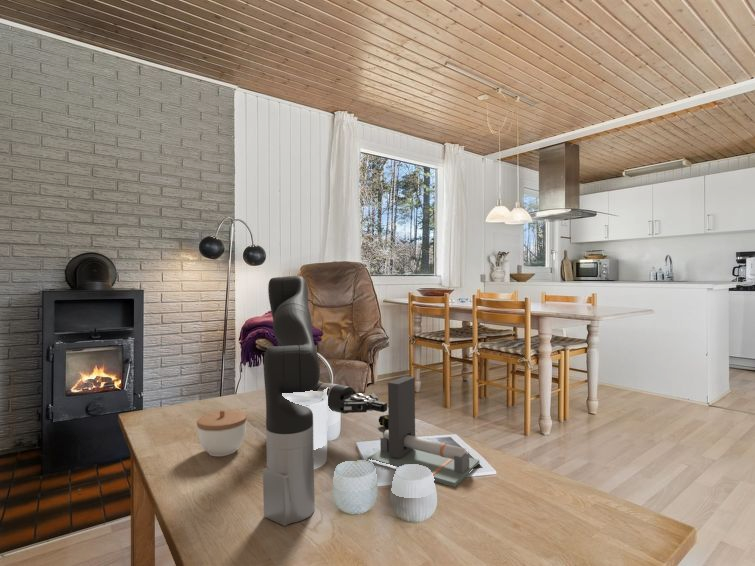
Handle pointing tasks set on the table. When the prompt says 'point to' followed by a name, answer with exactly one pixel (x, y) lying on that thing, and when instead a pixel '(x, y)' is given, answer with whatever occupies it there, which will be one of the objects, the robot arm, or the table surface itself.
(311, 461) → the robot arm
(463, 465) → the pipe stand
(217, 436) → the lidded bowl
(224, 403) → the table surface
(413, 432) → the dark grey upright pillar
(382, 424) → the tape measure
